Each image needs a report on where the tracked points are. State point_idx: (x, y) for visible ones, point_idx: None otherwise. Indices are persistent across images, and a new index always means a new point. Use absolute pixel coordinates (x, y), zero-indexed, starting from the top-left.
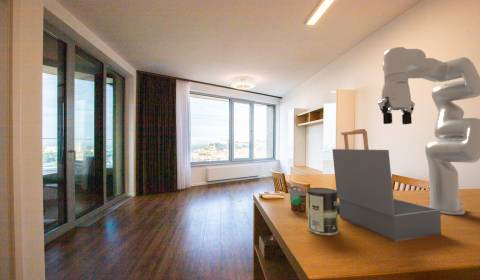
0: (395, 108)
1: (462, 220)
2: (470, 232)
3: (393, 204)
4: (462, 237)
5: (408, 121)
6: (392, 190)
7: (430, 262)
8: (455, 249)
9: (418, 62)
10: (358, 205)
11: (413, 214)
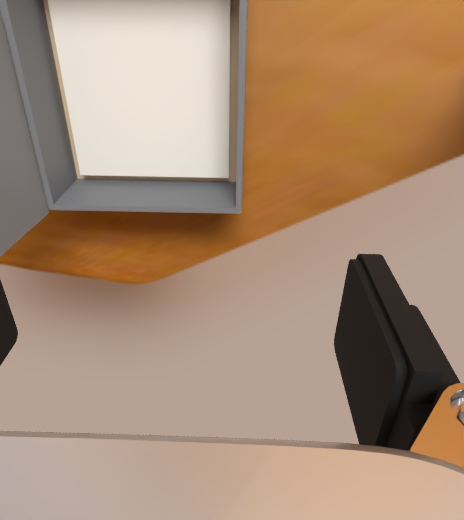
0: (312, 494)
1: (447, 131)
2: (330, 200)
3: (29, 229)
4: (269, 213)
5: (343, 350)
6: (5, 251)
7: (73, 260)
8: (177, 244)
9: None
10: (16, 61)
11: (125, 210)
